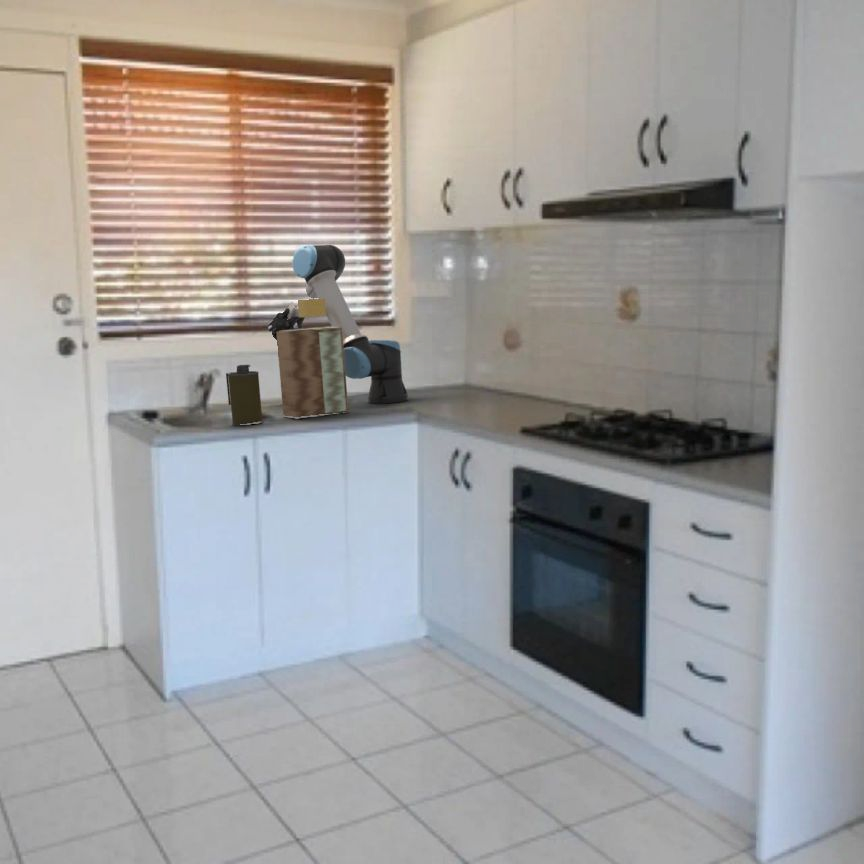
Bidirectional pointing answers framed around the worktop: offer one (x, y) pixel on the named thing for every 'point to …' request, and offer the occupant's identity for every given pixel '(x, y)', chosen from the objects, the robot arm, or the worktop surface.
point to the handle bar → (310, 308)
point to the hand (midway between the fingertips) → (297, 304)
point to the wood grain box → (312, 371)
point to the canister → (244, 395)
